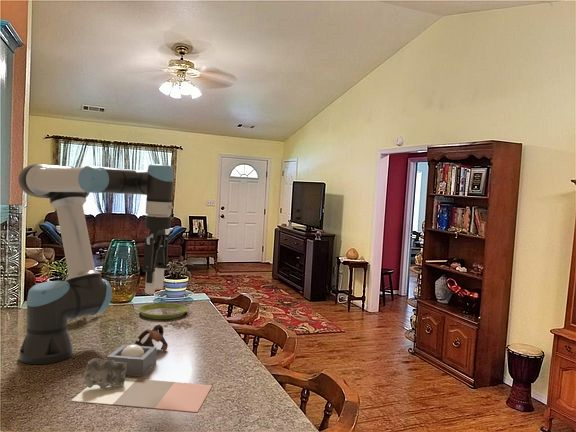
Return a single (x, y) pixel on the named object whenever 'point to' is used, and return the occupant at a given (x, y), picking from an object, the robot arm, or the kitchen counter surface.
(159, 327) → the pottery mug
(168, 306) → the saucer
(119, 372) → the egg carton
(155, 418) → the kitchen counter surface
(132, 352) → the cream ball
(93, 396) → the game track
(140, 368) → the housing
